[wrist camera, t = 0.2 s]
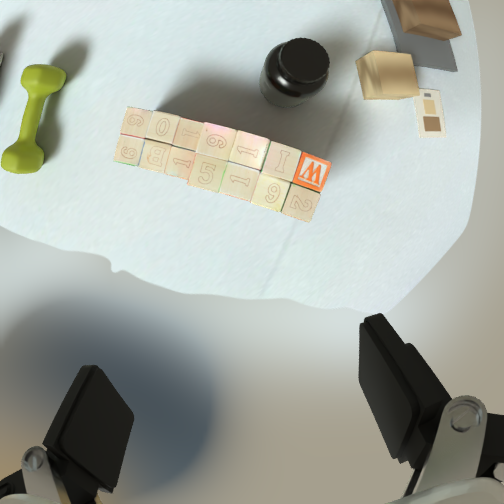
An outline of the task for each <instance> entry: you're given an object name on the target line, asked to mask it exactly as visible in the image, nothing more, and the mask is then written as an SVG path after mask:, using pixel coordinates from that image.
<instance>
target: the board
mask: <svg viewBox="0 0 504 504" xmlns="http://www.w3.org/2000/svg"><path fill="white" fill-rule="evenodd" d="M381 3H382V5H383V8H384V11H385V13H386V16H387V19H388V22H389V25H390V28H391V31H392V34H393V37H394V41H395V44H396V48H397V51H398V53H404V54H411V57H412V61H413V65H414V66H421V67H428V68H435V69H440V70H446V71H451V72H456V71H457V67H456V63H455V59H454V55H453V52H452V48H451V45H450V42H449V40H446V41H442V40H437V39H433V38H429V37H424V36H420V35H414V34H409V33H404V32H403V29H402V26H401V23H400V20H399V17H398V15H397V12H396V9H395V6H394V4H393V1H392V0H381Z"/></svg>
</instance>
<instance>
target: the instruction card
mask: <svg viewBox="0 0 504 504" xmlns="http://www.w3.org/2000/svg"><path fill="white" fill-rule="evenodd" d="M419 92H420V96H415V97H413V100H414V105H415V111H416V117H417V124H418V131H419V138H430V137H446V130H445V122H444V115H443V109H442V103H441V97H440V92H439V91H438V90H429V89H419Z"/></svg>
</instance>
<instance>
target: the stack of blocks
mask: <svg viewBox="0 0 504 504" xmlns="http://www.w3.org/2000/svg"><path fill="white" fill-rule="evenodd" d="M113 161H115V162H119V163H124V164H128V165H133V166H138V167H140V168H143V169H147V170H152V171H156V172H160V173H164V174H167V175H171V176H175V177H179V178H183V179H187V180H188V183H187V185H190V186H194V187H198V188H201V189H205V190H209V191H212V192H216V193H219V192H220V193H223V194H226V195H229V196H233V197H237V198H240V199H243V200H247V201H250V203H252V204H255V205H258V206H262V207H265V208H268V209H271V210H274V211H277V212H281V213H283V214H285V215H288V216H291V217H294V218H297V219H300V220H303V221H306V222H310V221H311V219H312V216H313V213H314V211H315V208H316V206H317V203H318V201H319V198H320V196H321V194H320V192H321V191H322V190H323V187H324V184H325V182H326V179H327V176H328V173H329V170H330V168H331V164H332V163H331V162H329V161H326V160H324V159H321V158H319V157H316V156H313V155H311V154H308V153H306V152H302V151H301V150H299V149H296V148H293V147H290V146H287V145H284V144H280V143H277V142H274V141H270V140H269V139H268V138H265V137H261V136H258V135H255V134H251V133H248V132H244V131H240V130H235V129H232V128H228V127H224V126H220V125H217V124H212V123H208V122H204V123H202V122H199V121H195V120H191V119H187V118H183V117H181V116H178V115H174V114H170V113H166V112H161V111H156V110H154V111H149V110H144V109H139V108H133V107H127V110H126V113H125V117H124V120H123V123H122V127H121V130H120V136H119V140H118V143H117V147H116V151H115V156H114V160H113Z"/></svg>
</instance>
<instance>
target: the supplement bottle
mask: <svg viewBox="0 0 504 504" xmlns="http://www.w3.org/2000/svg"><path fill="white" fill-rule="evenodd" d="M329 63H330V62H329V57H328V54H327V52H326V50H325V49H324V48H323V46H321V45H320V44H319V43H317V42H316V41H313V40H311V39H307V38H295V39H292V40H290V41H288V42H284V43H281V44H279V45H277V46H276V47H274V48H273V49H272V50H271V51H270V52H269V54H268V55H267V57H266V60H265V63H264V66H263V69H262V72H261V75H260V80H259V85H260V89H261V92H262V94H263V95H264V97H265V98H266V99H267V100H268V101H269V102H271V103H272V104H274V105H277V106H280V107H294V106H297V105H299V104H301V103H303V102H304V101H306V100H308V99H309V98H311V97H312V96H314V95H315V94H317V93H318V92H319V91H321V90H322V88H323V87H324V86H325V84H326V82H327V79H328V74H329V71H328V68H329Z"/></svg>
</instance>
